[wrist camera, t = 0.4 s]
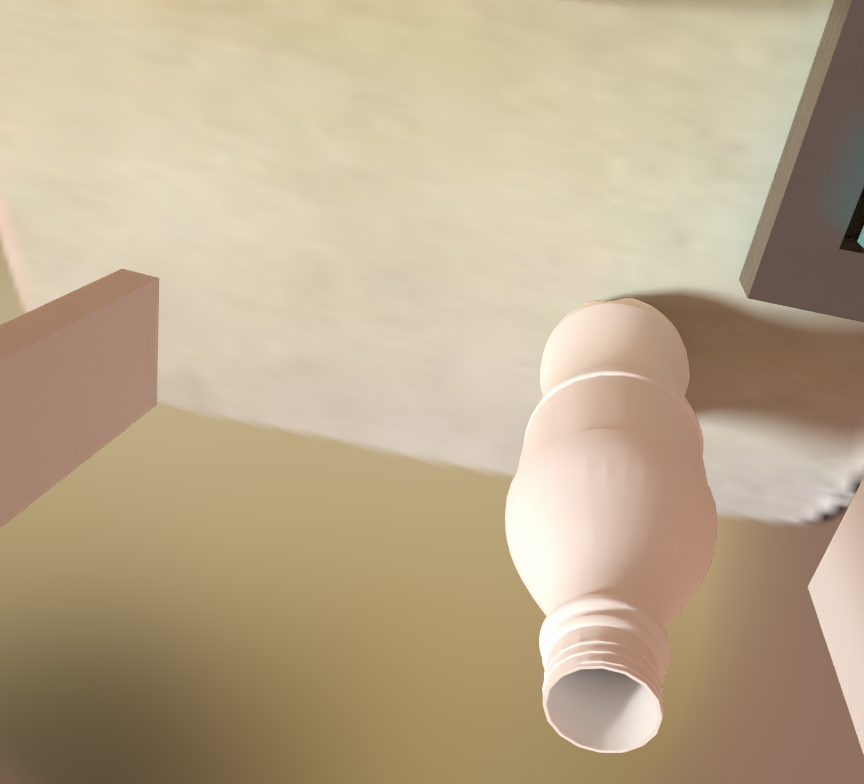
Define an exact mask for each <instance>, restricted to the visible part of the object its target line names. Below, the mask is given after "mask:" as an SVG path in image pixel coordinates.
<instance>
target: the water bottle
mask: <svg viewBox="0 0 864 784" xmlns="http://www.w3.org/2000/svg"><path fill="white" fill-rule="evenodd" d="M689 379H690V368H689V362H688V357H687V352H686V349H685V346H684V343H683V341H682V339H681V337H680V335H679V333H678V331H677V329H676V328H675V326H674V325H673V324H672V323H671V322H670V321H669V320H668V319H667V318H666V317H665V316H664V315H663V314H662V313H661V312H660V311H659V310H657V309H655V308H654V307H652V306H651V305H649V304H647V303H644V302H642V301H639V300H636V299H633V298H623V299H619V300H614V301H601V300H598V301H589V302H587V303H585V304H583V305H581V306H579V307H577V308H575V309H574V310H573V311H571V312H570V313H569V314H567V315H566V316H565V317H564V318H563V320H562V321H561V322H560V323H559V324H558V325H557V326H556V328H555V329H554V331H553V332H552V334H551V335H550V337H549V339H548V341H547V344H546V346H545V350H544V353H543V357H542V362H541V368H540V384H541V390H542V394H543V399H542V400H541V401H540V403H539V404H538V406H537V407H536V409H535V410H534V412H533V414H532V416H531V418H530V420H529V423H528V425H527V429H526V432H525V437H524V444H523V450H522V454H521V458H520V462H519V466H518V470H517V474H516V476H515V478H514V479H513V481H512V483H511V486H510V490H509V493H508V496H507V503H506V512H505V526H506V536H507V542H508V546H509V550H510V554H511V557H512V559H513V562H514V564H515V566H516V569H517V571H518V573H519V575H520V577H521V579H522V580H523V582H524V584H525V585H526V587H527V589H528V590H529V592H530V593H531V595H532V597H533V598H534V600H535V601H536V602H537V604H538V605H539V606H540V608H541V609H542V610H543V612H544V613H545V615H546V616H547V617H546V619H545V620H544V622H543V624H542V627H541V631H540V636H539V646H540V652H541V656H542V662H543V666H544V669H545V672H544V683H543V687H542V691H543V707H544V711H545V714H546V717H547V721H548V722H549V723H550V724H551V725H552V727H553V728H554V729H555V730H556V731H557V733H558V734H559V735H560V736H562V737H563V738H565V739H566V740H568V741H570V742H571V743H573V744H575V745H576V746H578V747H581V748H585V749H589V750H593V751H596V752H600V753H620V752H621V753H623V752H626V751H629V750H632V749H635V748H638V747H641V746H643V745H644V744H646V743H647V742H648V741H649V740H650V739H651V738H652V737H654V736H655V735H656V734H657V732H658V728H659V726H660V723H661V720H662V717H663V714H664V707H663V681H664V678H665V677H666V671H667V668H668V665H669V663H670V655H671V650H670V641H669V638H668V635H667V632H666V630H665V629H664V628H665V627H666V626H667V624H669V623H670V622H671V620H673V619H674V617H676V616H677V614H678V613H679V612H680V611H681V610H682V609H683V608H684V607H685V605H686V604H687V603H688V601H689V600H690V599H691V597H692V596H693V595H694V594H695V592H696V591H697V590H698V588H699V587H700V585H701V584H702V582H703V580H704V578H705V576H706V574H707V572H708V570H709V567H710V565H711V563H712V558H713V554H714V550H715V545H716V541H717V513H716V505H715V501H714V498H713V496H712V493H711V490H710V487H709V486H708V484H707V478H706V473H705V467H704V462H703V436H702V432H701V428H700V425H699V422H698V419H697V417H696V415H695V413H694V410H693V409H692V407H691V405H690V404H689V402H688V400H687V399H686V398H685V394H686V391H687V388H688V384H689Z"/></svg>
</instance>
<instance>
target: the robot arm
mask: <svg viewBox="0 0 864 784" xmlns="http://www.w3.org/2000/svg"><path fill="white" fill-rule="evenodd" d="M158 310H159V278H156V277H152V276H148V275H145V274H141V273H137V272H133V271H129V270H125V269H121V270H119V271H116V272H114V273H112V274H110V275H108V276H106V277H103V278H101V279H99V280H97V281H95V282H93V283H90V284H88V285H86V286H84V287H82V288H80V289H78V290H75V291H73V292H71V293H69V294H67V295H65V296H62V297H60V298H58V299H56V300H54V301H52V302H50V303H47V304H45V305H43V306H41V307H39V308H37V309H34V310H32V311H30V312H28V313H26V314H24V315H22V316H19V317H17V318H15V319H13V320H11V321H9V322H6V323H4V324H3V325H0V528H1V527H2V526H4V525H5V524H6V523H8V522H9V521H10V520H11V519H13V518H14V517H15V516H16V515H18V514H19V513H20V512H21V511H22V510H24V509H25V508H27V507H28V506H29V505H30V504H32V503H33V502H34V501H35V500H37V499H38V498H39V497H40V496H42V495H43V494H44V493H46V492H47V491H48V490H49V489H51V488H52V487H53V486H55V485H56V484H57V483H58V482H60V481H61V480H62V479H63V478H64V477H66V476H67V475H68V474H70V473H71V472H72V471H73V470H75V469H76V468H77V467H79V466H80V465H81V464H82V463H84V462H85V461H86V460H87V459H89V458H90V457H91V456H93V455H94V454H95V453H96V452H98V451H99V450H100V449H101V448H103V447H104V446H105V445H106V444H108V443H109V442H110V441H111V440H113V439H114V438H115V437H117V436H118V435H119V434H120V433H122V432H123V431H124V430H125V429H127V428H128V427H129V426H131V425H132V424H133V423H134V422H136V421H137V420H138V419H139V418H141V417H142V416H143V415H144V414H146V413H147V412H148V411H150V410H151V409H152V408H153V407H155V406H156V405H157V362H158ZM808 589H809V592H810V595H811V598H812V601H813V604H814V607H815V610H816V612H817V616H818V619H819V622H820V625H821V628H822V631H823V634H824V637H825V640H826V643H827V646H828V649H829V652H830V655H831V658H832V661H833V664H834V667H835V670H836V673H837V676H838V679H839V682H840V685H841V688H842V691H843V694H844V697H845V700H846V703H847V706H848V709H849V712H850V715H851V718H852V721H853V724H854V727H855V730H856V733H857V736H858V739H859V742H860V745H861V748H862V751H863V754H864V478H863V480H862V482H861V484H860V486H859V488H858V490H857V492H856V494H855V496H854V498H853V500H852V502H851V504H850V506H849V508H848V510H847V512H846V514H845V515H844V517H843V519H842V521H841V523H840V525H839V527H838V529H837V531H836V533H835V535H834V537H833V539H832V541H831V543H830V545H829V547H828V549H827V551H826V552H825V554H824V556H823V558H822V560H821V562H820V564H819V566H818V568H817V570H816V572H815V574H814V576H813V578H812V580H811V582H810V584H809V586H808Z"/></svg>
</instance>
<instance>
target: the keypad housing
mask: <svg viewBox="0 0 864 784" xmlns="http://www.w3.org/2000/svg"><path fill="white" fill-rule="evenodd" d="M863 187H864V0H835V1H834V4H833V7H832V10H831V13H830V15H829V18H828V21H827V24H826V27H825V30H824V33H823V36H822V39H821V42H820V45H819V48H818V51H817V54H816V56H815V59H814V62H813V65H812V68H811V71H810V74H809V77H808V80H807V83H806V86H805V89H804V92H803V95H802V97H801V100H800V103H799V106H798V109H797V112H796V115H795V118H794V121H793V124H792V127H791V130H790V133H789V136H788V138H787V141H786V144H785V147H784V150H783V153H782V156H781V159H780V162H779V165H778V168H777V171H776V174H775V177H774V179H773V182H772V185H771V188H770V191H769V194H768V197H767V200H766V203H765V206H764V209H763V212H762V215H761V218H760V220H759V223H758V226H757V229H756V232H755V235H754V238H753V241H752V244H751V247H750V250H749V253H748V256H747V259H746V262H745V264H744V267H743V270H742V273H741V276H740V279H739V280H740V282H741V285H742V287H743V289H744V291H745V293H746V296H747V298H749V299H754V300H759V301H764V302H769V303H774V304H778V305H783V306H788V307H793V308H798V309H803V310H807V311H812V312H817V313H822V314H827V315H832V316H836V317H841V318H846V319H851V320H856V321H861V322H864V248H863V247H862V246H861V245H860V244H859V243H858V242H857V241H858V240H857V239H852V238H846V237H844V235H845V233H846V230H847V228H848V225H849V223H850V220H851V218H852V215H853V213H854V210H855V208H856V205H857V203H858V200H859V197H860V195H861V192H862V190H863Z"/></svg>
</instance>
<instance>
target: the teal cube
mask: <svg viewBox="0 0 864 784" xmlns="http://www.w3.org/2000/svg"><path fill="white" fill-rule="evenodd" d="M857 242H858V243H859V244H860V245H861V246H862V247H863V248H864V226H863V229H862V231H861V234H860V236H859V239H858V241H857Z"/></svg>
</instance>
